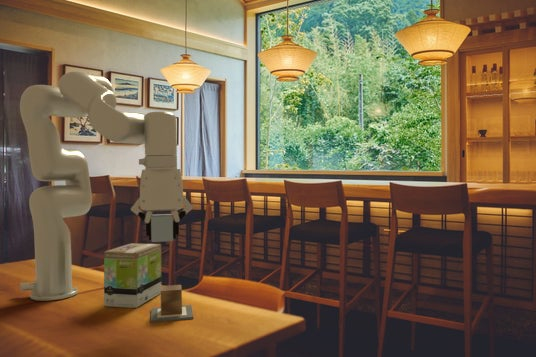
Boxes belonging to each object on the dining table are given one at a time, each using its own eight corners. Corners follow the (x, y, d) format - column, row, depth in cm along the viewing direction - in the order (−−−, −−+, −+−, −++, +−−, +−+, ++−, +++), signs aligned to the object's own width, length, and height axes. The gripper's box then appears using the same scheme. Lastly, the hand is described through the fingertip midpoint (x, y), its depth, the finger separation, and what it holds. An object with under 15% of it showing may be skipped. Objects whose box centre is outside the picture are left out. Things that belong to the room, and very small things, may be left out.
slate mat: (150, 322, 113) (150, 319, 113) (151, 309, 123) (151, 307, 123) (193, 318, 115) (193, 316, 115) (191, 306, 125) (191, 304, 125)
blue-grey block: (151, 242, 113) (151, 216, 113) (152, 238, 118) (152, 214, 118) (173, 241, 114) (172, 216, 114) (173, 238, 119) (172, 213, 119)
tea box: (138, 308, 124) (137, 252, 124) (103, 307, 126) (101, 251, 126) (162, 293, 139) (161, 242, 138) (130, 292, 141) (129, 242, 140)
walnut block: (161, 315, 116) (160, 291, 116) (161, 309, 121) (160, 286, 120) (182, 314, 117) (181, 289, 117) (181, 308, 122) (181, 284, 121)
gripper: (122, 164, 111) (124, 242, 111) (197, 162, 113) (198, 239, 114) (126, 164, 118) (128, 237, 118) (196, 163, 121) (197, 235, 121)
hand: (162, 237), depth 116 cm, fingers closed on blue-grey block, 5 cm apart
